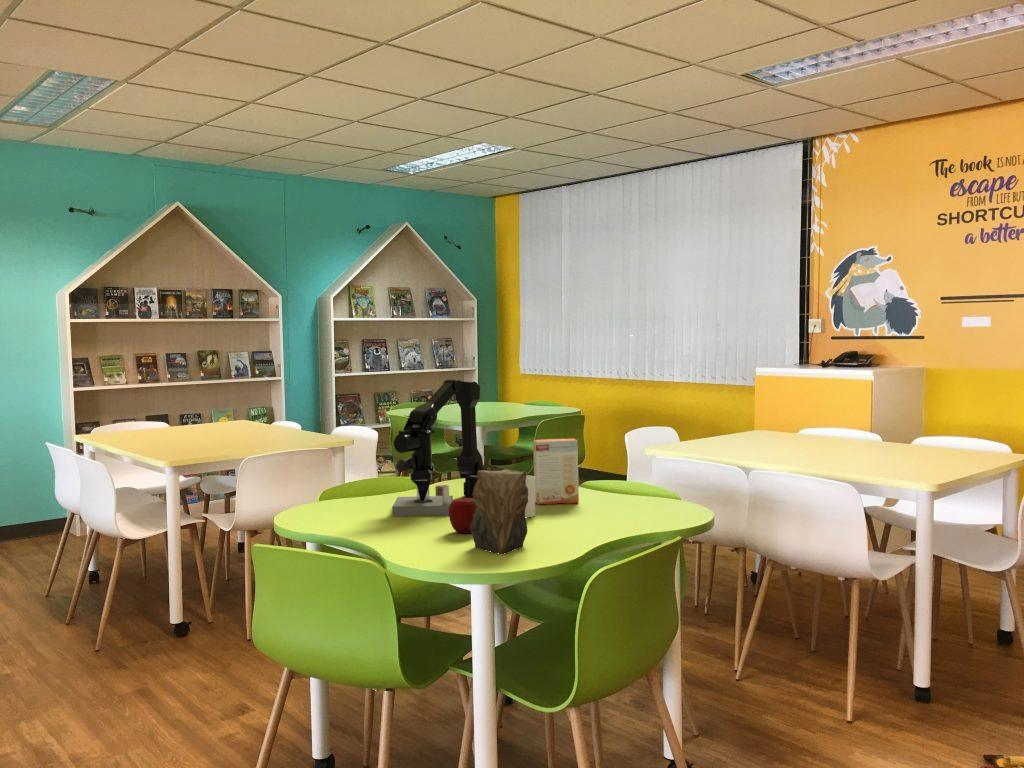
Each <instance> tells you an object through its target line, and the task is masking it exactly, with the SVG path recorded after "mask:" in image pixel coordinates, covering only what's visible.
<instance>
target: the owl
mask: <svg viewBox="0 0 1024 768" xmlns="http://www.w3.org/2000/svg"><path fill="white" fill-rule="evenodd" d="M477 475H478V481H477V483H476V485H475V487H474V491H473V497H472V498H473V502H474V504H475V506H476V508H477V509H476V510H475V513H474V515H473V519H472V522H471V525H470V529H471V532H470V533H471V536H472V540H473V542H474V548H475V547H476V548H475V549H477V548H480V549H479V550H482V549H483V550H482V551H484V550H487V551H486V552H488V551H491V552H493V553H492V554H494V553H499V554H504V553H506V554H508V553H507V552H509V553H511V552H513V551H515V550H514V549H517V548H518V549H520V548H519V547H521V548H523V547H524V546H523V545H524V542H525V540H526V537H527V535H528V523H527V518H525V509H526V505H527V503H528V488H527V486H526V482H525V481H526V475H527V471H526V470H523V471H519V470H514V469H510V468H508V469H507V468H505V469H502V470H493V471H492V470H488V471H486V470H481V471H480V470H479V471H477ZM522 546H523V547H522ZM518 549H517V550H518ZM512 550H513V551H512ZM510 551H511V552H510ZM491 552H490V553H491ZM499 554H498V555H499ZM504 555H505V554H504Z"/></svg>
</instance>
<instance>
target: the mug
mask: <svg viewBox="0 0 1024 768" xmlns="http://www.w3.org/2000/svg"><path fill="white" fill-rule="evenodd" d="M525 482H526V486H527V488H528V503H527V505H526V509H525V517H531V518H534V517H535V515H536V513H535V512H536V502H535V476H534V475H527V474H526V481H525ZM533 516H534V517H533Z"/></svg>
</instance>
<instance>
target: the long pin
mask: <svg viewBox="0 0 1024 768" xmlns="http://www.w3.org/2000/svg"><path fill="white" fill-rule="evenodd" d="M416 496H417V503H429V502H430V499H429V496H430V487H429V488H428V491H427V494H426V497H425V499H424V501H421V500H420V496H419V492H418V488H417V487H416Z"/></svg>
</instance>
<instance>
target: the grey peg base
mask: <svg viewBox="0 0 1024 768" xmlns="http://www.w3.org/2000/svg"><path fill="white" fill-rule="evenodd" d="M442 485H443V496H436V495H429V499H430V502H429V503H417V495H416V496H397V497H396V499H395V501H394V503H393V504H392V509H391V510H392V511H391V512H392V514H391V515H392V517H425V516H424V515H427V516H429V517H431V516H430V515H436V516H449V505H450V503H451V502H452V501H453V500H454V498H453V497H454V495H450V485H449V484H442Z"/></svg>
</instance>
